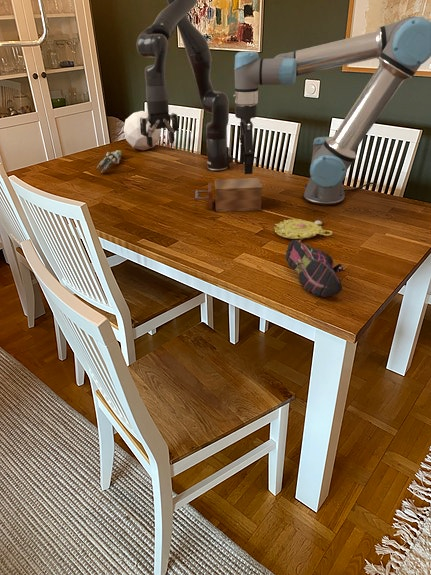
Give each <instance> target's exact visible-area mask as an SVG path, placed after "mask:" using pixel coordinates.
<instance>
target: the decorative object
mask: <svg viewBox="0 0 431 575" xmlns="http://www.w3.org/2000/svg"><path fill="white" fill-rule="evenodd" d="M322 225H323V221H321V220H314V222H313V221H310V220H304V219H303V218H292V219H283V221H279V223H274V227H273V229H274V233H276V234H277V236H279V237H282V238H284V239H285V238H286V239H290V240H298V241H299V242H302V240H305V239H310V238H313V237H315V236H317V235H319V236H320V235H321V236H325V237H329V236H331V235H333V231H332V230H325V229H323V227H322ZM326 233H327V234H326Z"/></svg>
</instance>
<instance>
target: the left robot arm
mask: <svg viewBox="0 0 431 575" xmlns="http://www.w3.org/2000/svg"><path fill="white" fill-rule="evenodd" d="M198 1H199V0H166V2H167V4H168V5H167V6H166V7H165V8H163V9H162V10H161V11H160V12H159V13H158V15H157V16H156V18H155V19H154V21H153V23H152V24H150V25H149V26H147V27H146V28H145V29H144V30H142V31H141V32H140V33H139V35H138V36H137V39H136V50H137V53H138V54H139V56H141V57H142V58H145V59H146V58H154V59H155V61H154V64H150V65H147V66H146V67H144V80H145V81H144V82H145V97H146V98H145V99H146V107H147V112H148V118H140V128H141V135H143V136H146V138H147V145H148V146H149V147H153V143H152V137H151V135H152V134H153V132H154V131H155V129H166V130H167V131H168V142H169V144H171V145H172V144H174V142H175V133H176V132H179V128H180V127H179V121H178V120H179V119H178V114H176V113H174V112H171V114H170V113H169V112H170V108H169V94H168V89H167V78H166V67H167V62H168V61H167V59H168V53H169V45H170V44H169V40H170V39H171V37H172V35H173V34H174V32H175V30H176V28H177V29H178V31H179V35H180V37H181V39H182V43H183V47H184V50H185V53H186V56H187V60H188V62H189V65H190V68H191V70H192V74H193V77H194V80H195V84H196V87H197V91H198V95H199V101H200V104H201V107H202V109H203V111H204V112H205V113H208V114H211V115H212V119H211V121H210V122H207V123H206V125H205V128H206V129H205V134H206V158H207V159H206V165H207V166H206V167H207V170H208V171H212V172H223V171H226V170H227V169H229V168H230V164H233V162H234V161H235V162H236V164H239V165H240V164H244V162H242V163H241V162H240V161H238V159H237V158H235V157H233V156H232V155H231V154H230V148H229V146H228V125H229V119H230V100H229V97H228V94H226V93H225V92H222V91H218V90H217V91H216V90H215V89H214V87H213V84H212V80H211V72H212V71H211V70H212V63H213V57H212V53H211V49H210V46H209V43H208V40H207V39H206V38H205V36H204V35H203V33H201V32H200V31H199V29H198V28H197V27H196V26H194V24H193V23H192V22H191V20H190V19H189V17H188V13H189V12H190V11H191V10H192V9H193V8H194V7H196V5H197V3H198ZM170 121H171V124H170V123H169V122H170ZM147 122H149V123H150V125H149V127H148V130H147V132H146V124H147ZM153 148H154V147H153ZM253 159H255V160H256V161H258V160H260V158H259V157H257V156H253ZM233 160H234V161H233Z"/></svg>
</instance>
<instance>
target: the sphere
mask: <svg viewBox="0 0 431 575" xmlns="http://www.w3.org/2000/svg"><path fill="white" fill-rule="evenodd" d="M140 118H148V111H144V110H139V111H135V112H133V113H131V114H130V115H129V116H128V117H127V118H125V119H124V120H125V121H124V126H123V134H124V139H125V140H126V142H127V143H128V144H129V145H130V146H131V147H132V148H133V149H136V150H140V151H146V150H149V149H152V148H154V147H155V146H156V145H157V144H159V142H160V139H161V133H162V128H160V129H155V131H154V132H153V134H152V135H151V137H152V143H153V147H149V146H148V145H147V138H146V136H143V135H141V128H140ZM149 125H150V123H149V122H147V124H146V132H147V130H148V127H149Z"/></svg>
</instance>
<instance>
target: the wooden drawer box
mask: <svg viewBox="0 0 431 575" xmlns="http://www.w3.org/2000/svg"><path fill="white" fill-rule="evenodd" d="M262 191H263V186H262V184H261V181H260V179H259V177H247V178H245V177H244V178H221V179H219V178H218V179H217V178H216V179H214V202H215V203H214V204H215V212H216V213H224V212H227V213H228V212H253V211H262V193H263V192H262Z"/></svg>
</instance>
